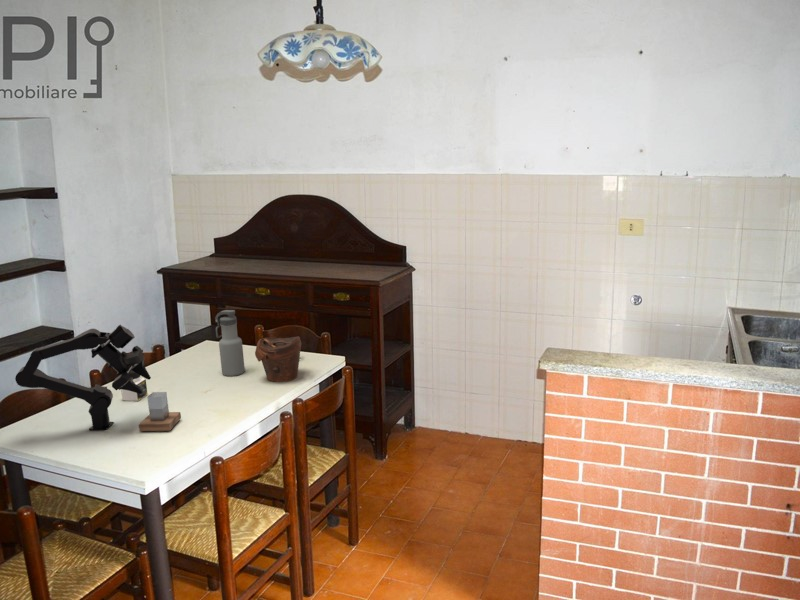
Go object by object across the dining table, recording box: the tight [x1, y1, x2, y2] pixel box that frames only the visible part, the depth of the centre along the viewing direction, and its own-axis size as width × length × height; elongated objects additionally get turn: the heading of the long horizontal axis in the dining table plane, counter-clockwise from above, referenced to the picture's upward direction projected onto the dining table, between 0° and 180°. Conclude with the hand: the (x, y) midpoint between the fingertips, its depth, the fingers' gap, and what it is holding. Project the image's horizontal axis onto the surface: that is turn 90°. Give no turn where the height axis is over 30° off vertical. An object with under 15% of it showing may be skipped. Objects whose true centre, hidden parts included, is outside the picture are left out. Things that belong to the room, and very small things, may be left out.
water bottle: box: [214, 309, 245, 377], centre depth 307 cm, size 10×10×28 cm
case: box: [254, 336, 302, 383], centre depth 300 cm, size 18×20×18 cm
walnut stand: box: [138, 411, 182, 432], centre depth 255 cm, size 11×11×3 cm
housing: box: [146, 391, 170, 421], centre depth 254 cm, size 5×5×9 cm
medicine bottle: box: [120, 370, 149, 402], centre depth 284 cm, size 7×7×12 cm
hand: (145, 385), depth 258 cm, fingers open, 9 cm apart
